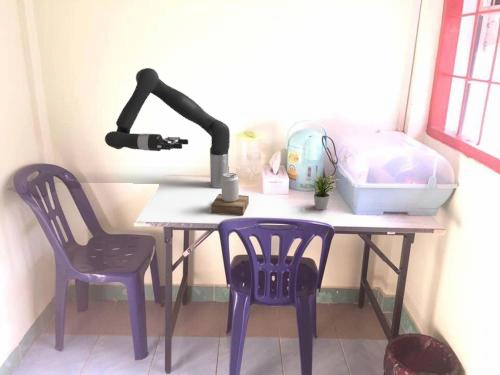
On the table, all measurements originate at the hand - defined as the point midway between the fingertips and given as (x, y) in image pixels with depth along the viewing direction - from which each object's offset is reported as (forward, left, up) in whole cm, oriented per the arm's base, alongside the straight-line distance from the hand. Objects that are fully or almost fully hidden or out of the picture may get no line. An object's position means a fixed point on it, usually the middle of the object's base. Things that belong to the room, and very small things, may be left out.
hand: (185, 144), depth 191 cm
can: (-5, +20, -24) cm, 32 cm away
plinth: (-5, +20, -28) cm, 35 cm away
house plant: (-26, +55, -28) cm, 67 cm away
